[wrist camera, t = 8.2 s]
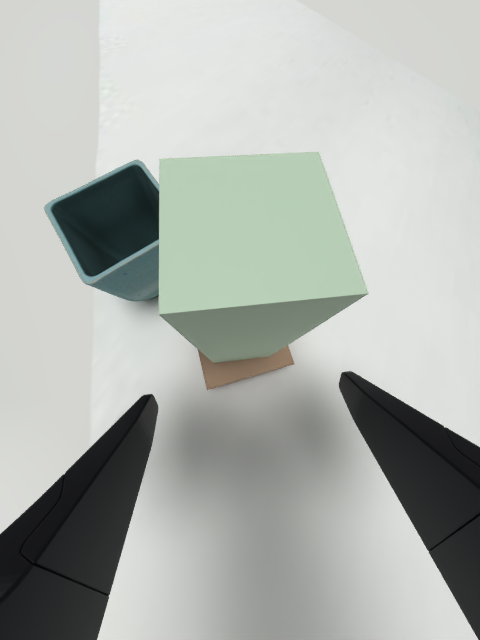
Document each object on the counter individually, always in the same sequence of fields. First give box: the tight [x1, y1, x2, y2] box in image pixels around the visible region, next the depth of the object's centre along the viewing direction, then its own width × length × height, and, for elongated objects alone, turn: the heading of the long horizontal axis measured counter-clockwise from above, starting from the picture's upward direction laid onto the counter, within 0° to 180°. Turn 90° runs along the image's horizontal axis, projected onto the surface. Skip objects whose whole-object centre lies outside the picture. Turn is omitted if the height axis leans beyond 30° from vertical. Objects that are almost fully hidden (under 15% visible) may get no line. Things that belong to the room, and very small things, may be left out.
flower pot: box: [44, 160, 159, 301], centre depth 19 cm, size 9×9×9 cm
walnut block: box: [198, 345, 294, 390], centre depth 20 cm, size 8×8×4 cm
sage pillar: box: [159, 152, 368, 363], centre depth 11 cm, size 5×5×13 cm
